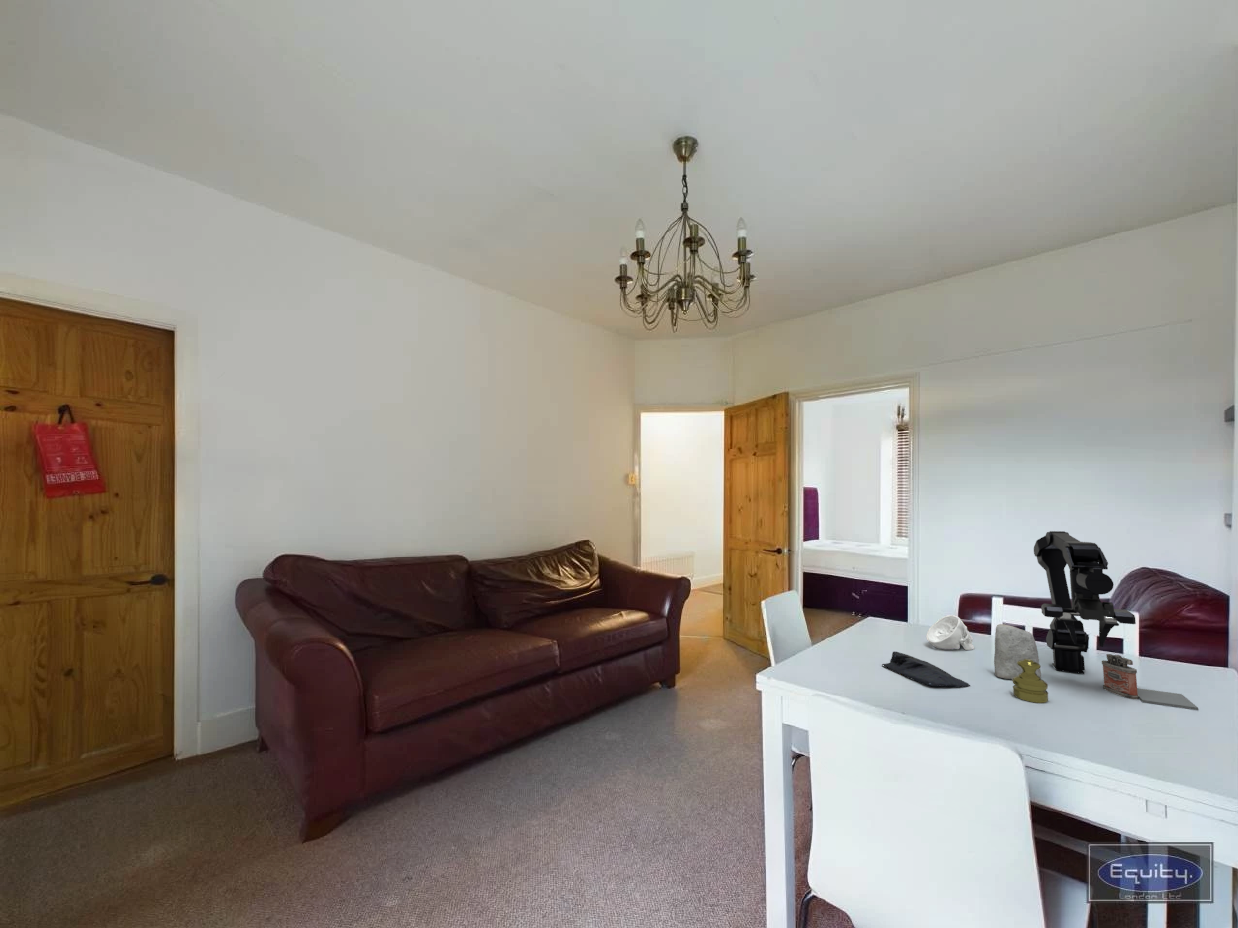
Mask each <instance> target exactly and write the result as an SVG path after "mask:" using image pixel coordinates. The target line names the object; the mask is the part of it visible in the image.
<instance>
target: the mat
mask: <svg viewBox="0 0 1238 928" xmlns="http://www.w3.org/2000/svg"><path fill="white" fill-rule="evenodd" d="M1137 693H1138V695H1139V699H1138V700H1140V702H1142V703H1145V704H1153V705H1158V706H1166V707H1174V708H1179V709H1180V708H1181V709H1187V710H1193V711H1194V710H1195V711H1199V707H1198V706H1197V705H1196V704H1195V703H1193V702H1192V701H1191V700H1189V699H1188V698H1187V697H1186V696H1185V695H1184V694H1182V693H1176V692H1170V691H1163V690H1161V691H1160V690H1154V689H1146V688H1140V687H1137Z"/></svg>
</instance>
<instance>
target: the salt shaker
mask: <svg viewBox="0 0 1238 928" xmlns="http://www.w3.org/2000/svg"><path fill="white" fill-rule="evenodd" d="M1017 664H1018V665H1019V666H1020V667H1021V668H1022V670H1023V671H1022V672H1021V673H1020V674H1018V675H1017V676H1014V677H1013V678H1012V679H1011V681H1012V684H1013V685H1012V691H1013V692H1012V693H1013V695H1014V697H1016V698H1018V699H1019V700H1023V701H1026V702H1029V703H1037V704H1038V703H1039V704H1042V703H1043V704H1044V703H1048V702H1049V692H1048V691H1047V690H1048V685H1049V684H1048V683H1047V682H1046V681H1045V680H1044V679H1042V677H1041V678H1040V677H1039V676H1038V675H1037V674H1036V673H1035V672H1036V670H1037V669H1039V668H1040V669H1041V664H1040V663H1039V664H1038V663H1037V662H1034V661H1033V660H1031V659H1024V660H1019V661H1017Z"/></svg>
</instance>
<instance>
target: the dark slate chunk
mask: <svg viewBox="0 0 1238 928" xmlns="http://www.w3.org/2000/svg"><path fill="white" fill-rule="evenodd" d="M882 665H884V666H885V667H888V668H887V669H888V670H890V669H891V670H890V671H892V670H893V671H892V672H894V671H895V672H894V673H896V672H897V673H896V674H898V673H900V674H902V675H901V676H904V675H905V676H904V677H906V676H907V678H908V677H909V679H911V678H912V679H914V680H913V681H916V682H918V681H919V682H918V683H920V684H922V683H923V685H925V686H929V687H945V688H946V687H949V688H969V687H971V684H969V683H968V682H966V681H964V680H962V679H960V678H957V677H955V676H952V674H950V673H949V672H947V671H945V670H944V669H942V668H940V667H938V666H937V665H934V664H932V663H930V662H928V661H926V660H922V659H919V658H917V657H915V656H911V655H909V654H906V653H902V652H898V651H892V654H891V658H890V660H889V662H888V663H887V662H886V663H882V664H881V666H882ZM884 666H883V667H884ZM885 667H884V668H885ZM900 674H899V675H900ZM912 679H911V680H912Z"/></svg>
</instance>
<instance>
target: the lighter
mask: <svg viewBox="0 0 1238 928" xmlns="http://www.w3.org/2000/svg"><path fill="white" fill-rule="evenodd" d="M1106 659H1107V660H1101V665H1102V673H1103V685H1102V686H1103V689H1104V691H1107V692H1109V693H1112V694H1115V695H1117V696H1121V697H1122V698H1125V699H1130V700H1136V701H1137V700H1140V699H1139V695H1138V693H1137V688H1138V681H1137V674H1138V670H1137V669H1136V668H1133V667H1132V666H1133V665H1134V661H1133V660H1132V659H1130V658H1126V657H1122V655H1120V654H1110V653H1107V654H1106Z"/></svg>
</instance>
